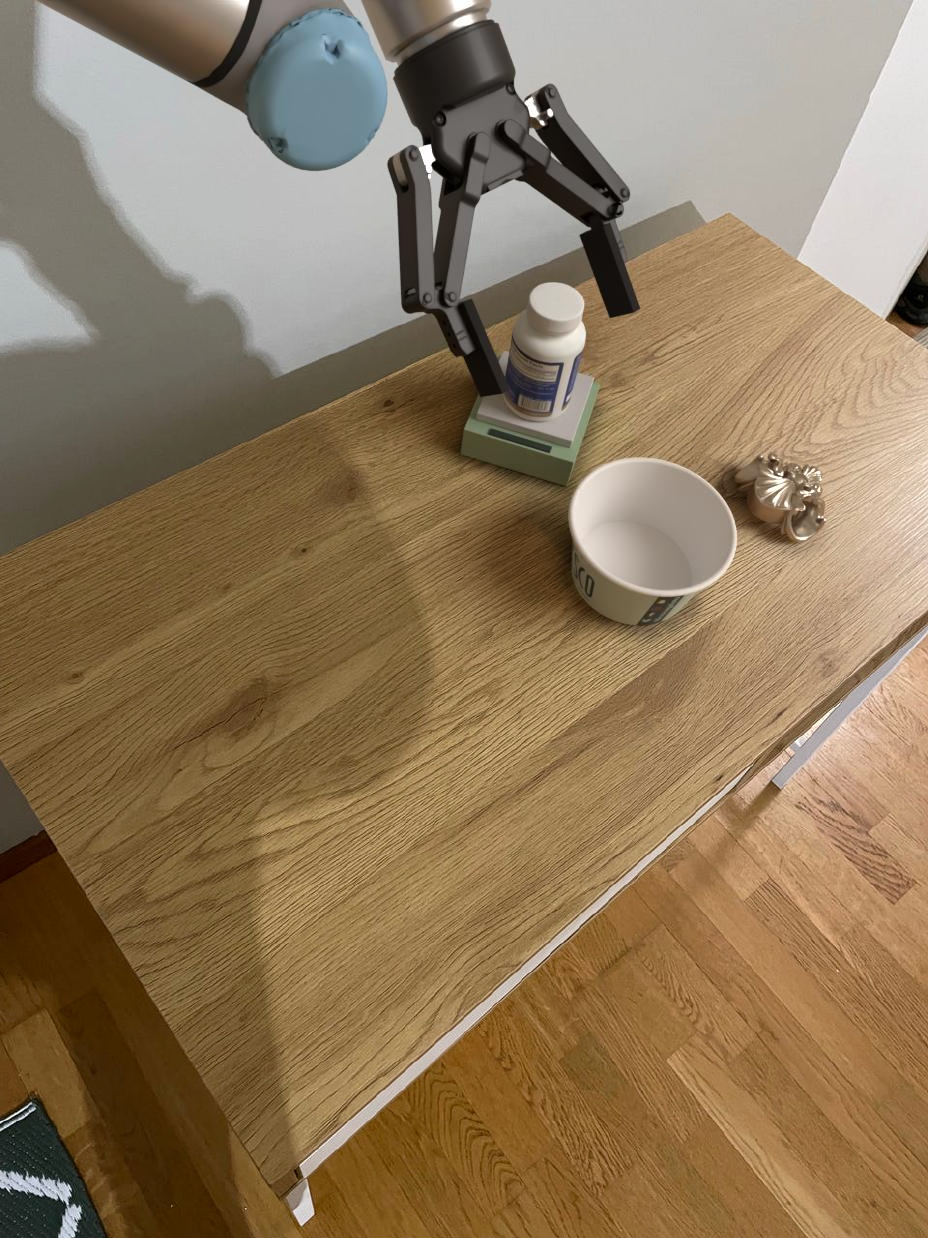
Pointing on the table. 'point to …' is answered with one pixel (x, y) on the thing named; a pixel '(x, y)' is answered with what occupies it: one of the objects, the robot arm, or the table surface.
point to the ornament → (784, 495)
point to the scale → (530, 433)
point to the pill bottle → (545, 352)
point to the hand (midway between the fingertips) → (562, 352)
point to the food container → (647, 538)
